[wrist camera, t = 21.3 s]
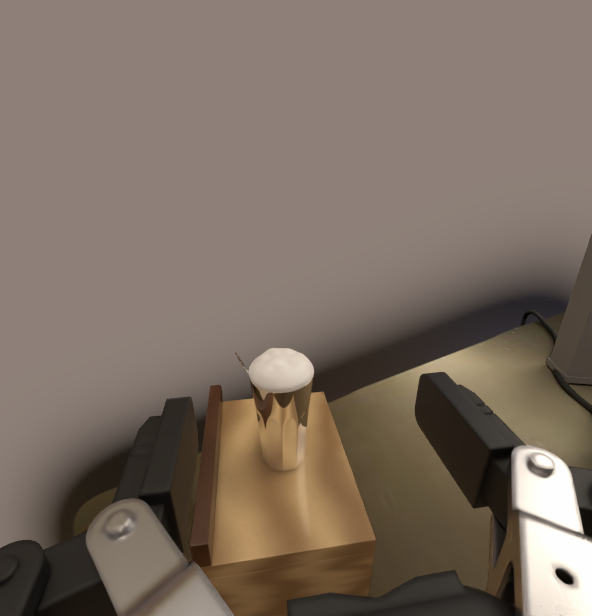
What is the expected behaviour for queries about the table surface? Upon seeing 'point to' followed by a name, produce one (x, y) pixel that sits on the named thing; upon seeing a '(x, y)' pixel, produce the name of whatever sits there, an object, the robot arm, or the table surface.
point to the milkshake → (282, 405)
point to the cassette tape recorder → (576, 330)
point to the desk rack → (277, 514)
